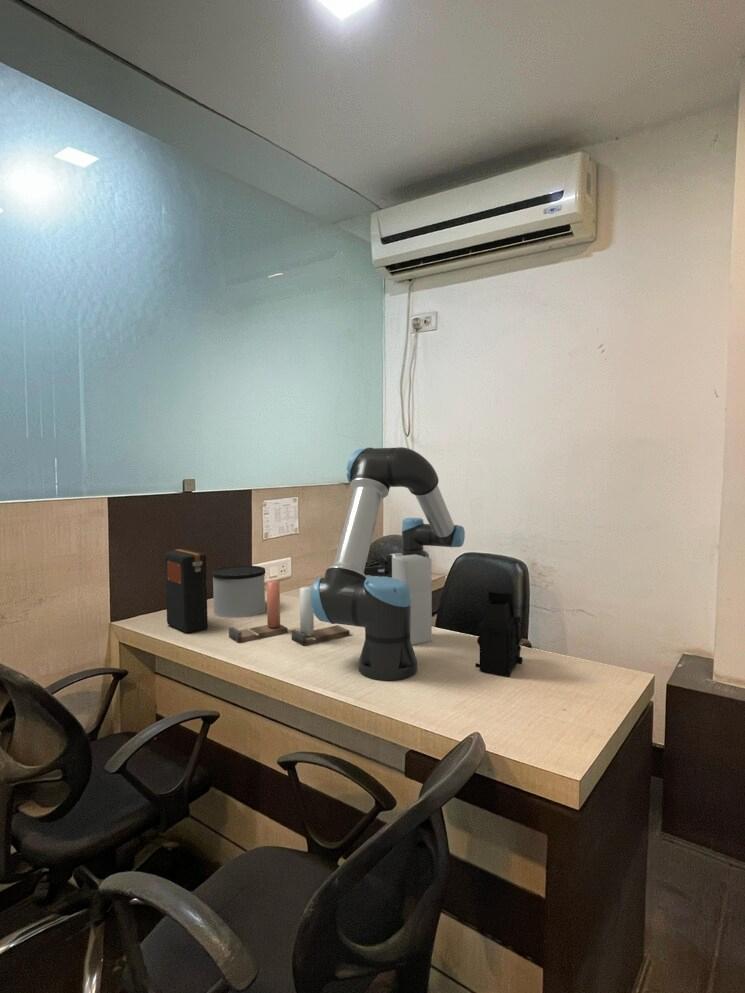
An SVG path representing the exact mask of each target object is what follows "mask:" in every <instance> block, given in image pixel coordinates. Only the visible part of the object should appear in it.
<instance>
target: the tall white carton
mask: <svg viewBox="0 0 745 993" xmlns="http://www.w3.org/2000/svg"><path fill="white" fill-rule="evenodd" d="M391 578H395V579H398V580H401V581H403V582H405V583H406V584H407V585H408V587H409V589H410V599H411V605H410V640H411V643H412V646H413V645H419V644H425V643H430V642H432V640H433V639H432V638H433V630H432V628H433V624H432V623H433V621H432V620H433V618H432V616H433V615H432V608H433V607H432V605H433V603H432V600H433V599H432V594H433V591H432V558H430V557H429V558H427V557H424V556H420V555H405V556H395V557H392V576H391Z"/></svg>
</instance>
